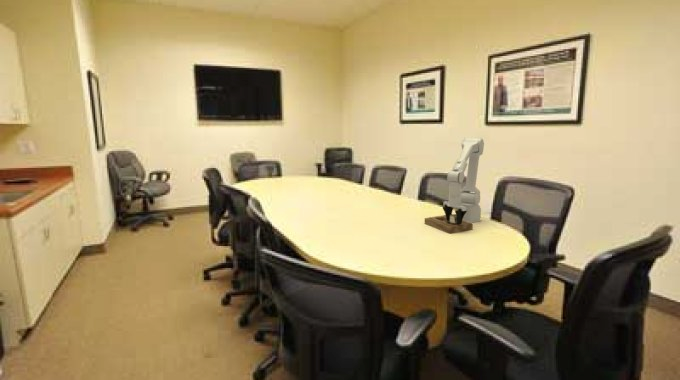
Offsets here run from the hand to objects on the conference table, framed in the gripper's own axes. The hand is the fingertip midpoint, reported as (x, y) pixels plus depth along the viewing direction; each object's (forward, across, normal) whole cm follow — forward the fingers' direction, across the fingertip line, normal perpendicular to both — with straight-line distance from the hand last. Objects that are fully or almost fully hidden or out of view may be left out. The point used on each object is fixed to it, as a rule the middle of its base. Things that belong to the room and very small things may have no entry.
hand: (453, 222), depth 187 cm
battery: (+3, 0, 0) cm, 3 cm away
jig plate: (+3, -4, 0) cm, 6 cm away
